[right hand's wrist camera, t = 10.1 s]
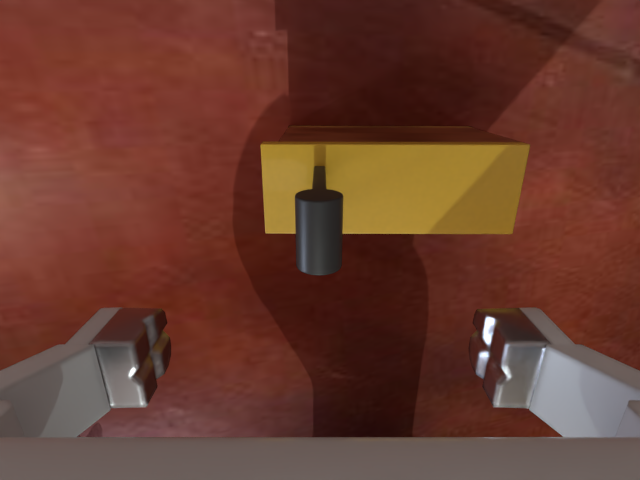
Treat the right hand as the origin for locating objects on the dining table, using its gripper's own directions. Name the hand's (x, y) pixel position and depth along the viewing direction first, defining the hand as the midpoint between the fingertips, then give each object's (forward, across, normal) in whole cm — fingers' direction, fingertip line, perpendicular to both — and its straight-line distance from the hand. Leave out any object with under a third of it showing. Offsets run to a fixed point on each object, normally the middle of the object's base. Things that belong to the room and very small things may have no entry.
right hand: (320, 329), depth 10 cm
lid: (+16, +4, 0) cm, 16 cm away
